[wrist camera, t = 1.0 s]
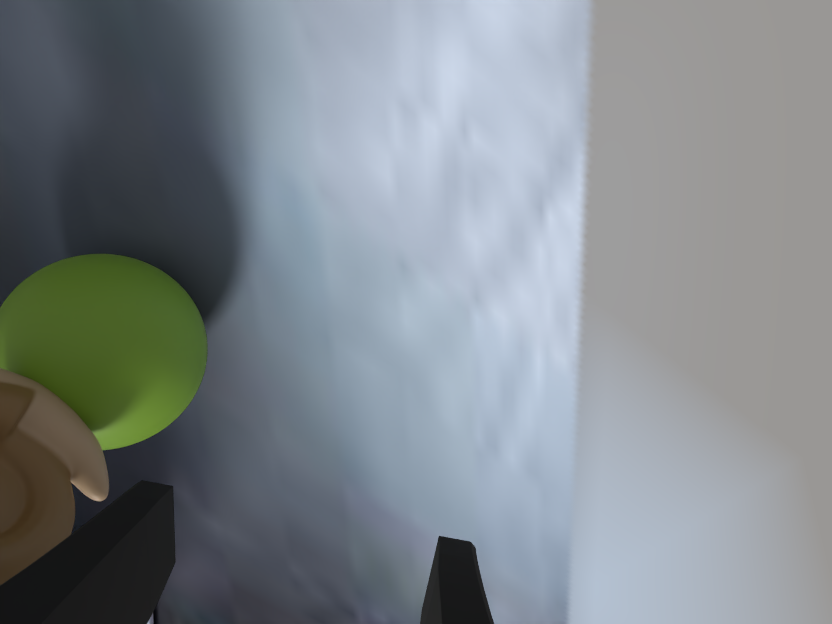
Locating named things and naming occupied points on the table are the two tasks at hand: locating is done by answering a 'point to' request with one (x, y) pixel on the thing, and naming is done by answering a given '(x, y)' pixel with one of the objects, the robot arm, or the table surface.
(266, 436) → the table surface
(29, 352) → the snail figurine
